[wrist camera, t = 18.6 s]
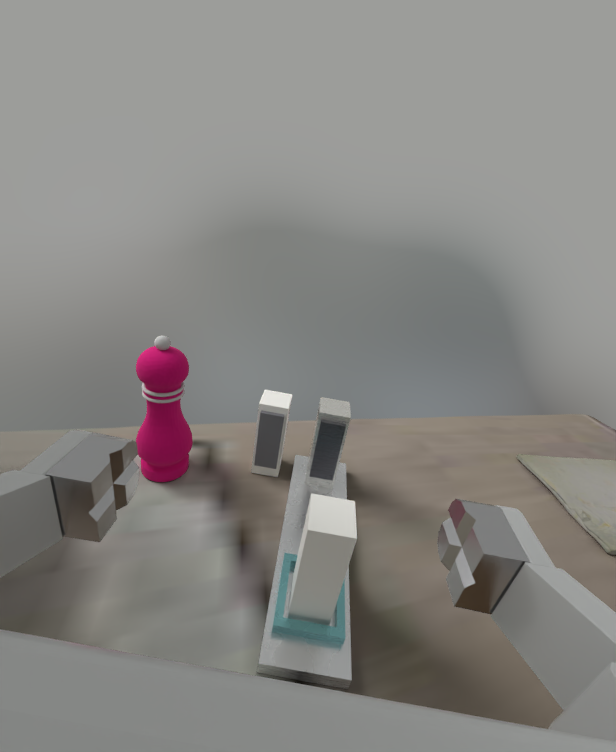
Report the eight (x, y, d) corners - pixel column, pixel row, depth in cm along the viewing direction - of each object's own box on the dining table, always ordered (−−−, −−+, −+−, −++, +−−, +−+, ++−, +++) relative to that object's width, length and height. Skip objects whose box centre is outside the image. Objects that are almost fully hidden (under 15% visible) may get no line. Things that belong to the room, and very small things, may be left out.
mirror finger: (250, 475, 51) (258, 405, 46) (256, 455, 55) (264, 389, 50) (277, 480, 51) (288, 411, 46) (281, 460, 55) (292, 394, 50)
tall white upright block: (287, 618, 33) (307, 529, 28) (293, 572, 37) (311, 488, 32) (329, 625, 33) (357, 538, 28) (330, 579, 37) (354, 496, 32)
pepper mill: (146, 449, 53) (140, 322, 44) (196, 452, 54) (199, 329, 45) (129, 483, 46) (117, 343, 38) (186, 486, 47) (187, 351, 39)
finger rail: (256, 672, 30) (274, 571, 24) (294, 462, 55) (307, 387, 50) (348, 689, 30) (388, 592, 24) (343, 471, 55) (363, 397, 50)
